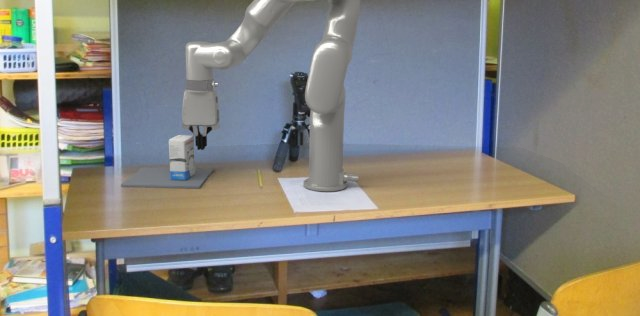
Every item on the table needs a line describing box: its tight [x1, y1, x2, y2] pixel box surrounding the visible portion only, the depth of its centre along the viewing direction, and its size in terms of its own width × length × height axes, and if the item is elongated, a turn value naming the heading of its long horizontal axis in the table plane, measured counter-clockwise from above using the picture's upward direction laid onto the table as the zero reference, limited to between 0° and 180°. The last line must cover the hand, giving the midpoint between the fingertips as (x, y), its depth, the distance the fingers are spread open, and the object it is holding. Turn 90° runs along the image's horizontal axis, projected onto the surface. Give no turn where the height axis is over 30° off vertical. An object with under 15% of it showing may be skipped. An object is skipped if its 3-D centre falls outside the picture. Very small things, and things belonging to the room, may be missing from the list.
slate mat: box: [120, 166, 214, 190], centre depth 192 cm, size 22×20×1 cm
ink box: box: [168, 134, 196, 180], centre depth 190 cm, size 9×5×12 cm, turn 172°
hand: (201, 148), depth 189 cm, fingers closed
